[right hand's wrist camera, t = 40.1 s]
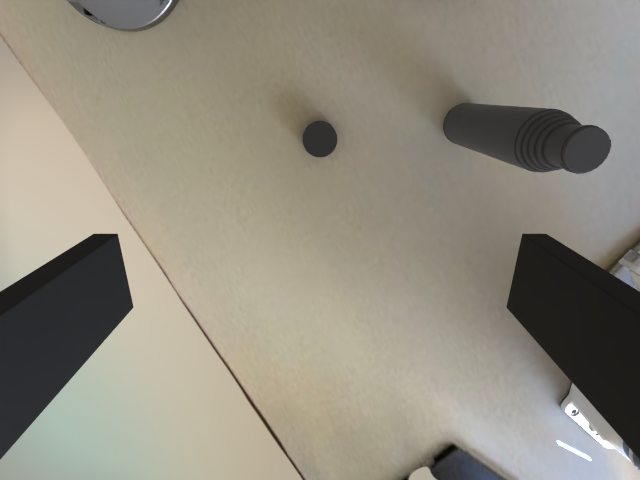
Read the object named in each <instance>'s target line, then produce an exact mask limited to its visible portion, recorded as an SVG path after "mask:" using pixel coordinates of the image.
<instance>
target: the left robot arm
mask: <svg viewBox="0 0 640 480" xmlns="http://www.w3.org/2000/svg"><path fill="white" fill-rule="evenodd" d="M619 263H620V264H622V265H624V266H625V267H627V268H629V269H630V274H631V278H632V282H633V285H634V286H635V287H637V288H638V289H637V290H638V291H639V292H640V254H639V253H636V252H635V251H633V250H631V249H630V250H629V251H628V253H627V254H626V255H625V256H624V257H623V258H622V259H621V260H620V261H619ZM561 408H562V410H563V411H564V412H565V413H566V414H567V415H569V416H570V417H571V418H572V419H573V420H574V421H575V422H576V423H578V424H579V425H580V426H581V427H582V428H583V429H584V430H585V431H586V432H588V433H589V434H590V435H591V436H592V437H593V438H594V439H595V440H597V441H598V442H599V443H600V444H601V445H602V446H603V447H605V448H615V449H616V450H617V451H619V452H620V453H621V454H622V455H623V456H624V457H626V458H627V459H628V460H629V461H631V462H632V463H633V464H634V466H635V467H636V468H637V469H638V470H639V471H640V459H639V458H638V457H637V456H636V455H635V453H634V452H633V451H632V450H631V449H630V448H629V447H628V445H627V444H626V443H625V442H624V441H623V440H622V439H621V437H620V436H619V435H618V434H617V433H616V432H615V431H614V429H613V428H612V427H611V426H610V425H609V424H608V423H607V421H606V420H605V419H604V418H603V417H602V416H601V415H600V413H599V412H598V411H597V410H596V409H595V408H594V407H593V405H592V404H591V403H590V402H589V401H588V400H587V399H586V397H585V396H584V395H583V394H582V393H581V392H580V391H579V389H578V388H577V387H576V386H575V385H574V384H573V383H572V385H571V389H570V392H569V395H568V396H567V397H566V398H565V400H564V401H563V402H562V404H561ZM557 443H558V444H559V445H560V446H562V447H564V448H566V449H568V450H570V451H572V452H574V453H576V454H578V455H580V456H582V457H584V458H586V459H588V460H590V461H591V458H590V457H589V456H587V455H586V454H584V453H582V452H580V451H578V450H576V449H574V448H572V447H570V446H568V445H566V444H564V443H562V442H560V441H558V440H557Z"/></svg>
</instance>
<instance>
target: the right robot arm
mask: <svg viewBox="0 0 640 480" xmlns="http://www.w3.org/2000/svg"><path fill="white" fill-rule="evenodd" d="M67 1H68V2H69V3H70V4H71V5H72V6H73V7H74V8H75V9H76V10H78V11H79V12H80V13H81V14H83V15H84V16H86V17H87V18H89V19H90V20H92V21H94V22H96V23H98V24H101V25H103V26H106V27H110V28H113V29H116V30H121V31H141V30H145V29H148V28H151V27H153V26H155V25H157V24H158V23H160V22H161V21H163V20H164V19H165V18H166V17H167V16H168V15H169V14H170V13H171V11H172V10H173V8H174V7H175V5H176V4H177V2H178V0H67ZM132 308H133V303H132V299H131V294H130V289H129V285H128V280H127V275H126V271H125V266H124V262H123V257H122V252H121V248H120V243H119V238H118V234H93V235H91V236H90V237H88V238H86V239H85V240H83V241H82V242H80V243H78V244H77V245H75V246H74V247H72V248H70V249H69V250H67V251H66V252H64V253H62V254H61V255H59V256H57V257H56V258H54V259H53V260H51V261H49V262H48V263H46V264H45V265H43V266H41V267H40V268H38V269H36V270H35V271H33V272H32V273H30V274H28V275H27V276H25V277H23V278H22V279H20V280H19V281H17V282H15V283H14V284H12V285H11V286H9V287H7V288H6V289H4V290H2V291H1V292H0V459H1V458H2V457H3V456H4V455H5V453H6V452H7V451H8V450H9V449H10V448H11V446H12V445H13V444H14V443H15V442H16V441H17V440H18V439H19V437H20V436H21V435H22V434H23V433H24V432H25V431H26V429H27V428H28V427H29V426H30V425H31V424H32V423H33V421H34V420H35V419H36V418H37V417H38V416H39V415H40V413H41V412H42V411H43V410H44V409H45V408H46V407H47V405H48V404H49V403H50V402H51V401H52V400H53V399H54V397H55V396H56V395H57V394H58V393H59V392H60V391H61V389H62V388H63V387H64V386H65V385H66V384H67V382H68V381H69V380H70V379H71V378H72V377H73V376H74V374H75V373H76V372H77V371H78V370H79V369H80V368H81V367H82V365H83V364H84V363H85V362H86V361H87V360H88V359H89V357H90V356H91V355H92V354H93V353H94V352H95V351H96V349H97V348H98V347H99V346H100V345H101V344H102V343H103V341H104V340H105V339H106V338H107V337H108V336H109V335H110V333H111V332H112V331H113V330H114V329H115V328H116V327H117V325H118V324H119V323H120V322H121V321H122V320H123V319H124V317H125V316H126V315H127V314H128V313H129V312H130V311H131V309H132ZM507 308H508V309H509V311H510V312H511V313H512V314H513V315H514V316H515V317H516V319H517V320H518V321H519V322H520V323H521V324H522V325H523V327H524V328H525V329H526V330H527V331H528V332H529V333H530V335H531V336H532V337H533V338H534V339H535V340H536V341H537V343H538V344H539V345H540V346H541V347H542V348H543V349H544V351H545V352H546V353H547V354H548V355H549V356H550V357H551V359H552V360H553V361H554V362H555V363H556V364H557V365H558V367H559V368H560V369H561V370H562V371H563V372H564V373H565V375H566V376H567V377H568V378H569V379H570V380H571V381H572V383H573V384H574V385H575V386H576V387H577V388H578V389H579V391H580V392H581V393H582V394H583V395H584V396H585V397H586V399H587V400H588V401H589V402H590V403H591V404H592V405H593V407H594V408H595V409H596V410H597V411H598V412H599V413H600V415H601V416H602V417H603V418H604V419H605V420H606V421H607V423H608V424H609V425H610V426H611V427H612V428H613V429H614V431H615V432H616V433H617V434H618V435H619V436H620V437H621V439H622V440H623V441H624V442H625V443H626V444H627V445H628V447H629V448H630V449H631V450H632V451H633V452H634V453H635V455H636V456H637V457H638V458H639V459H640V292H639V291H638V290H636V289H634V288H633V287H631V286H629V285H628V284H626V283H625V282H623V281H621V280H620V279H618V278H617V277H615V276H613V275H612V274H610V273H608V272H607V271H605V270H604V269H602V268H600V267H599V266H597V265H596V264H594V263H592V262H591V261H589V260H587V259H586V258H584V257H583V256H581V255H579V254H578V253H576V252H575V251H573V250H571V249H570V248H568V247H566V246H565V245H563V244H562V243H560V242H558V241H557V240H555V239H554V238H552V237H550V236H549V235H547V234H522V238H521V243H520V248H519V252H518V257H517V262H516V266H515V271H514V275H513V280H512V285H511V289H510V294H509V299H508V303H507Z"/></svg>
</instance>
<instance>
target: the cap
mask: <svg viewBox="0 0 640 480" xmlns="http://www.w3.org/2000/svg"><path fill="white" fill-rule="evenodd" d="M303 144H304V147H305V149H306V150H307V152H308V153H310V154H311V155H313V156H315V157H325V156H327V155H329V154H330V153H332V152H333V150H334V149H335V147H336V144H337V135H336V132H335V130H334V128H333V127H332V126H331V125H330V124H328V123H326V122H323V121H317V122H314V123H312V124H310V125H309V126H308V127H307V128H306V130H305V132H304V135H303Z"/></svg>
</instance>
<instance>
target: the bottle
mask: <svg viewBox="0 0 640 480" xmlns="http://www.w3.org/2000/svg"><path fill="white" fill-rule="evenodd" d="M444 133H445V135H446V137H447V138H448V139H449V140H450V141H451V142H453V143H455V144H458V145H461V146H463V147H466V148H469V149H472V150H474V151H477V152H480V153H482V154H485V155H488V156H491V157H493V158H496V159H499V160H502V161H504V162H507V163H510V164H513V165H515V166H518V167H521V168H523V169H526V170H529V171H533V172H549V171H554V170H559V169H565V170H567V171H570V172H573V173H577V174H578V173H586V172H590V171H592V170H594V169H595V168H597V167H598V166H599V165H601V164H602V163H603V161H604V160H605V159H606V158H607V156H608V154H609V152H610V147H611V140H610V139H609V136H608V134H607V133H606V132H605V131H604V130H603V129H601V128H599V127H597V126H593V125H585V126H583V125H581V124H580V123H579V122H578V121H577V120H576V119H575V118H573V117H572V116H571V115H570V114H568V113H566V112H563V111H561V110H557V109H546V108H531V107H515V106H499V105H484V104H468V103H464V104H460V105H457V106H455V107H454V108H452V109H451V110H450V111H449V113H448V114H447V116H446V118H445V120H444Z"/></svg>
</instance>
